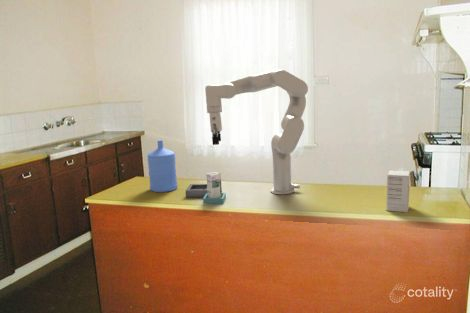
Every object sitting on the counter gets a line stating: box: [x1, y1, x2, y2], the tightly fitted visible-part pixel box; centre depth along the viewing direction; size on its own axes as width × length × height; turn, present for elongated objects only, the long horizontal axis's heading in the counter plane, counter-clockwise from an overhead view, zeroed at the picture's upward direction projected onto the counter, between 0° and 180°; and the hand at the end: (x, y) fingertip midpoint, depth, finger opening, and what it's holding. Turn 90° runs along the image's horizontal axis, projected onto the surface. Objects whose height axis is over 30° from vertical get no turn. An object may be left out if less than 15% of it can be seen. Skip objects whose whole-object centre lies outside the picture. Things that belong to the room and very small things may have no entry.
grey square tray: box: [185, 183, 208, 199], centre depth 235 cm, size 13×13×4 cm
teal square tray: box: [202, 192, 227, 205], centre depth 223 cm, size 10×10×2 cm
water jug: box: [147, 140, 178, 193], centre depth 247 cm, size 16×16×28 cm
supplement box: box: [386, 170, 411, 213], centre depth 196 cm, size 10×9×17 cm
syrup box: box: [205, 171, 223, 198], centre depth 222 cm, size 6×6×14 cm
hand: (216, 142), depth 222 cm, fingers open, 9 cm apart
